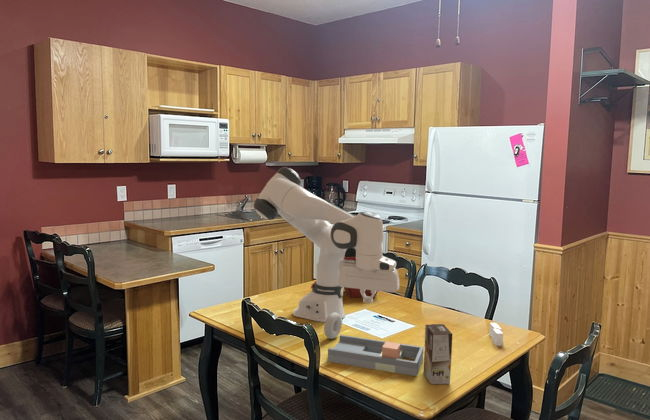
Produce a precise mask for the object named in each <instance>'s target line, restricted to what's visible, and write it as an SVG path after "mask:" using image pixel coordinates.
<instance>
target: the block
mask: <svg viewBox="0 0 650 420" xmlns="http://www.w3.org/2000/svg"><path fill="white" fill-rule="evenodd" d="M391 342H392V341H386V342H385V344H384V345H383V347H382V356H383V357H390V358H396V359H400V344H401V343H400V344H398V343H399V342H393V343H391Z"/></svg>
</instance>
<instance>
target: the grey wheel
mask: <svg viewBox="0 0 650 420" xmlns="http://www.w3.org/2000/svg"><path fill="white" fill-rule="evenodd" d="M342 320H343V318H342V319H341V316H340V315H339V314H338V313H336V312H334V313H331V314H330V315H329V316H328V317H327V319H326V321H325V322H324V324H323V333H324V335H325V336H326V338H327V339H329V340H333V339H336V338H337V337H338V336H339V334H340V332H341V329H342V327H343V326H342V325H343V321H342Z"/></svg>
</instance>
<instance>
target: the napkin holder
mask: <svg viewBox="0 0 650 420" xmlns="http://www.w3.org/2000/svg"><path fill="white" fill-rule="evenodd" d="M488 329H489V330H488V335H489V336H490V337H491V342H492V343H493V344H494V346H496V347H503V344H504V333H503V328H501V327H500V326H499V324H497V323H496V322H489V327H488Z"/></svg>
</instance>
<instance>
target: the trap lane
mask: <svg viewBox="0 0 650 420" xmlns="http://www.w3.org/2000/svg"><path fill="white" fill-rule="evenodd" d="M385 342H387V341H386V340H380V339H371V338H366V337H365V338H364V337H358V336H352V335H351V336H350V335H344V334H340V335H339V341H338V342H337V343H336V344H335V346H334V347H333V348H331V347H328V349H327V362H328V363H336V364H340V365H346V366H353V367H358V368H359V367H360V368H364V369H370V370H375V371H382V372H389V373H393V374H401V375H406V376H412V377H417V376H418V374H419V372H420V369H421V366H422V363H423V362H424V351H425V346H420V345H419V346H418V345H412V344H405V343H399V342H397V343H398V344H400V359H396V358H390V357H383V356H382V347H383V345H384V344H385ZM390 342H391V343H394V342H392V341H390ZM403 358H404V359H403ZM407 359H410V360H407ZM411 359H412V360H411Z"/></svg>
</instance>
